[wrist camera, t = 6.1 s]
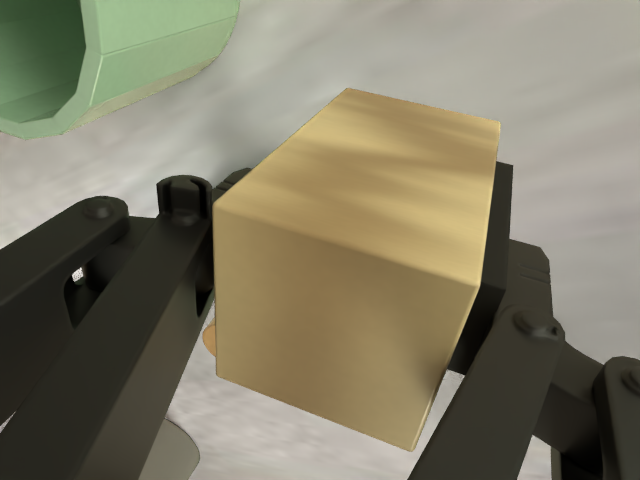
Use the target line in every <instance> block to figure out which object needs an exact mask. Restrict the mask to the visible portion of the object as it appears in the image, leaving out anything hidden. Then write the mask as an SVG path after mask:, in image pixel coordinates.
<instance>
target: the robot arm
mask: <svg viewBox="0 0 640 480" xmlns="http://www.w3.org/2000/svg"><path fill="white" fill-rule="evenodd" d="M251 170H252V169H250V168H245V169H242V170H239V171H236V172H234V173H232V174H231V175H229V176H228V177H227V178H226V179H225V180H224V181H223V182H221V183H220V184H218V185H217V186H216V188H214V189H212V186H211V185H210V183H209V182H208V181H206V180H205V179H203V178H200V177H196V176H192V175H178V176H171V177H168V178H165V179H162V180H161V181H160V182H158V183H157V184H156V186H157V196H158V206H159V214H158V216H157V217H156V218H146V217H135V216H129V212H128V206H127V204H126V203H125V202H124V201H123V200H120V199H118V198H115V197H109V196H95V197H92V198H87V199H84V200H82V201H80V202H77V203H76V204H74V205H72V206H71V207H69V208H67V209H66V210H64V211H63V212H61V213H59V214H58V215H56V216H54V217H53V218H51V219H49V220H48V221H46V222H45V223H43V224H41V225H40V226H38V227H36V228H35V229H33V230H32V231H30V232H28V233H27V234H25V235H23V236H22V237H20V238H19V239H17V240H15V241H14V242H12V243H10V244H9V245H7V246H5V247H4V248H2V249H1V250H0V426H1V425H2V424H3V423H4V422H5V421H6V420H7V419H8V418H9V417H10V416H11V415H12V414H13V413H14V412H15V411H16V410H17V411H16V412H15V414H14V415H13V416H12V418H11V419H10V420H9V422H8V423H7V425H6V426H5V427H4V429H3V430H2V432H1V433H0V480H138V479H139V477H140V474H141V472H142V470H143V467H144V465H145V462H146V460H147V458H148V455H149V453H150V451H151V448H152V446H153V443H154V441H155V439H156V436H157V434H158V431H159V429H160V427H161V424H162V422H163V420H164V417H165V415H166V412H167V410H168V408H169V405H170V403H171V401H172V398H173V396H174V393H175V391H176V389H177V386H178V384H179V381H180V379H181V377H182V374H183V372H184V370H185V367H186V365H187V362H188V360H189V358H190V355H191V353H192V351H193V348H194V346H195V343H196V341H197V339H198V336H199V334H200V331H201V329H202V327H203V324H204V322H205V320H206V317H207V315H208V312H209V310H210V308H211V305H212V303H213V301H214V259H213V215H212V206H213V204H214V202H215V201H216V200H217V199H219V198H220V197H221V196H222V195H223V194H224V193H226V192H227V191H228V190H229V189H230V188H231V187H232V186H234V185H235V184H236V183H237V182H238V181H239V180H241V179H242V178H243V177H244V176H245V175H246V174H248V173H249V172H250V171H251ZM512 179H513V165H510V164H506V163H501V162H497V161H496V167H495V174H494V182H493V190H492V198H491V206H490V214H489V221H488V229H487V237H486V245H485V253H484V260H483V268H482V276H481V284H480V288H479V290H478V293H477V295H476V298H475V300H474V303H473V305H472V308H471V310H470V313H469V315H468V318H467V320H466V323H465V325H464V328H463V330H462V332H461V335H460V337H459V340H458V342H457V345H456V347H455V350H454V352H453V355H452V357H451V360H450V362H449V365H448V367H447V369H448V370H451V371H454V372H457V373H460V374H463V375H465V377H464V379H463V381H462V382H461V384H460V386H459V388H458V390H457V391H456V393H455V395H454V397H453V399H452V400H451V402H450V404H449V406H448V408H447V409H446V411H445V413H444V415H443V417H442V418H441V420H440V422H439V424H438V426H437V427H436V429H435V431H434V433H433V435H432V436H431V438H430V440H429V442H428V444H427V445H426V447H425V449H424V451H423V452H422V454H421V456H420V458H419V460H418V461H417V463H416V465H415V467H414V469H413V470H412V472H411V474H410V476H409V478H408V479H407V480H517V477H518V475H519V472H520V469H521V466H522V463H523V460H524V457H525V454H526V452H527V449H528V446H529V443H530V440H531V437H532V434H533V435H534V436H536V437H538V438H539V439H541V440H542V441H544V442H545V443H547V444H548V445H550V446H551V475H552V480H640V360H638V359H635V358H630V357H625V356H620V357H612V358H611V359H610V360H608V361H607V362H606V363H605V364H604V365H603V364H601V363H599V362H597V361H595V360H593V359H592V358H590V357H588V356H586V355H584V354H582V353H581V352H579V351H578V350H576V349H574V348H573V347H572V346H571V345H569V344H568V343H567V342H566V341H565V332H564V330H563V328H562V326H561V324H560V323H559V322H558V321H557V320H556V319H555V318H554V317H553V308H552V294H551V285H550V282H551V280H550V274H549V273H550V266H549V259H548V258H547V256H546V255H545V254H544V252H543V251H542V249H541V248H540V247H537V246H534V245H530V244H526V243H523V242H519V241H515V240H512V239H509V234H510V216H511V198H512ZM80 267H81V268H82V272H83V277H82V278H80V279H79V280H77V281H75V282H74V281H73V278H72V274H73V273H74V272H75V271H76V270H78V269H79V268H80Z"/></svg>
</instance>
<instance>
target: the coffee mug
mask: <svg viewBox="0 0 640 480" xmlns="http://www.w3.org/2000/svg"><path fill="white" fill-rule="evenodd" d="M199 459H200V455H199V451H198V449H197V447H196V445H195V444H194V442H193V441H192V439H191V438H190V437H189V436H188V435H187V434H186V433H185V432H184V431H183V430H181V429H180V428H179V427H177V426H176V425H175V424H173V423H171V422H170V421H168V420H166V419H164V420H163V422H162V424H161V427H160V429H159V431H158V434H157V436H156V439H155V441H154V443H153V446H152V448H151V451H150V453H149V455H148V458H147V460H146V462H145V465H144V467H143V470H142V472H141V474H140V477H139V479H138V480H188V479H189V477H190V476H191V474H192V472H193V471H194V469H195V468H196V466H197V464H198V463H199Z"/></svg>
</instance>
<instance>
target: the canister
mask: <svg viewBox="0 0 640 480" xmlns="http://www.w3.org/2000/svg"><path fill="white" fill-rule="evenodd" d="M239 3H240V0H0V132H3V133H6V134H9V135H12V136H15V137H18V138H21V139H25V140H29V139H35V138H42V137H49V136H55V135H62V134H64V133H67V132H69V131H71V130H73V129H76V128H78V127H80V126H82V125H85V124H87V123H89V122H91V121H94V120H96V119H98V118H101V117H103V116H105V115H107V114H110V113H112V112H114V111H116V110H119V109H121V108H123V107H125V106H128V105H130V104H132V103H135V102H137V101H139V100H141V99H144V98H146V97H148V96H150V95H153V94H155V93H157V92H159V91H162V90H164V89H166V88H169V87H171V86H173V85H175V84H178V83H180V82H182V81H184V80H187V79H189V78H191V77H193V76H195V75H196V74H197V73H198V72H199V71H201V70H203V69H204V68H206V67H207V66H208V65H210V64H211V63H212V62H213V61H214V60H215V59H216V58H217V57H218V56H219V54H220V53H221V52H222V50H223V49H224V47H225V46H226V44H227V42H228V40H229V38H230V36H231V34H232V31H233V28H234V26H235V23H236V19H237V14H238V10H239Z"/></svg>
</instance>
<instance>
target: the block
mask: <svg viewBox="0 0 640 480" xmlns="http://www.w3.org/2000/svg"><path fill="white" fill-rule="evenodd" d="M500 128H501V123H500V122H498V121H494V120H489V119H485V118H480V117H476V116H471V115H467V114H462V113H458V112H453V111H449V110H444V109H440V108H436V107H431V106H427V105H422V104H418V103H413V102H409V101H404V100H400V99H395V98H391V97H386V96H382V95H377V94H373V93H368V92H364V91H360V90H355V89H351V88H346V89H345V90H344V91H343V92H341V93H340V94H339V95H338V96H337V97H336V98H335V99H333V100H332V101H331V102H330V103H329V104H328V105H326V106H325V107H324V108H323V109H322V110H321V111H319V112H318V113H317V114H316V115H315V116H314V117H312V118H311V119H310V120H309V121H308V122H307V123H306V124H304V125H303V126H302V127H301V128H300V129H299V130H297V131H296V132H295V133H294V134H293V135H292V136H290V137H289V138H288V139H287V140H286V141H285V142H284V143H282V144H281V145H280V146H279V147H278V148H277V149H275V150H274V151H273V152H272V153H271V154H270V155H268V156H267V157H266V158H265V159H264V160H263V161H261V162H260V163H259V164H258V165H257V166H256V167H255V168H253V169H252V170H251V171H250V172H249V173H248V174H246V175H245V176H244V177H243V178H242V179H241V180H239V181H238V182H237V183H236V184H235V185H234V186H232V187H231V188H230V189H229V190H228V191H227V192H226V193H224V194H223V195H222V196H221V197H220V198H219V199H217V200H216V201H215V202H214V204H213V206H212V215H213V259H214V302H215V345H216V375H217V376H218V377H220V378H223V379H225V380H228V381H230V382H233V383H236V384H238V385H241V386H243V387H246V388H248V389H251V390H253V391H256V392H259V393H261V394H264V395H266V396H269V397H271V398H274V399H276V400H279V401H282V402H284V403H287V404H289V405H292V406H294V407H297V408H299V409H302V410H305V411H307V412H310V413H312V414H315V415H317V416H320V417H322V418H325V419H328V420H330V421H333V422H335V423H338V424H340V425H343V426H345V427H348V428H351V429H353V430H356V431H358V432H361V433H363V434H366V435H368V436H371V437H374V438H376V439H379V440H381V441H384V442H386V443H389V444H391V445H394V446H397V447H399V448H402V449H404V450H407V451H409V452H412V451H413V450H414V449H415V447H416V445H417V442H418V440H419V437H420V435H421V432H422V430H423V427H424V425H425V422H426V420H427V417H428V415H429V412H430V410H431V407H432V405H433V402H434V400H435V397H436V395H437V392H438V390H439V387H440V385H441V382H442V380H443V377H444V375H445V372H446V370H447V367H448V365H449V362H450V360H451V357H452V355H453V352H454V350H455V347H456V345H457V342H458V340H459V337H460V335H461V332H462V330H463V328H464V325H465V323H466V320H467V318H468V315H469V313H470V310H471V308H472V305H473V303H474V300H475V298H476V295H477V293H478V290H479V288H480V284H481V276H482V268H483V260H484V253H485V245H486V237H487V229H488V221H489V214H490V206H491V198H492V190H493V182H494V174H495V167H496V159H497V151H498V143H499V135H500Z"/></svg>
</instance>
